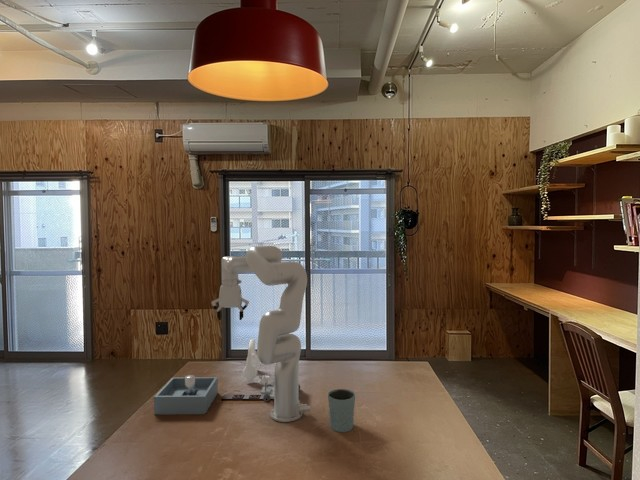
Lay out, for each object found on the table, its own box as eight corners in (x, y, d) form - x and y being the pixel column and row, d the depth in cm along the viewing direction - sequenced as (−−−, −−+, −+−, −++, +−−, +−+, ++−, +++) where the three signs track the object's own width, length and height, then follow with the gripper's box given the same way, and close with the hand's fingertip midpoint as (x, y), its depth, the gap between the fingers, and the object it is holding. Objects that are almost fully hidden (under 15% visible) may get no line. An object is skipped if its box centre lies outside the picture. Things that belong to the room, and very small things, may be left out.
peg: (193, 401, 169) (193, 378, 169) (183, 401, 169) (183, 378, 169) (196, 397, 173) (196, 374, 173) (187, 397, 173) (186, 374, 173)
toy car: (256, 379, 169) (260, 369, 181) (256, 401, 170) (260, 390, 181) (299, 378, 170) (300, 368, 181) (299, 401, 170) (300, 390, 181)
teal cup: (332, 434, 142) (332, 401, 142) (324, 421, 152) (324, 390, 152) (359, 430, 145) (359, 398, 145) (349, 417, 155) (349, 387, 154)
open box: (217, 392, 178) (217, 377, 178) (205, 414, 158) (205, 396, 158) (172, 393, 178) (172, 377, 178) (154, 414, 158) (153, 396, 158)
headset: (257, 384, 187) (256, 346, 187) (241, 385, 187) (241, 347, 186) (260, 369, 207) (259, 334, 207) (246, 369, 207) (246, 335, 206)
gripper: (250, 281, 191) (250, 317, 191) (213, 281, 190) (213, 317, 191) (247, 284, 183) (247, 321, 184) (209, 284, 183) (209, 321, 184)
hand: (230, 319), depth 187 cm, fingers open, 9 cm apart
